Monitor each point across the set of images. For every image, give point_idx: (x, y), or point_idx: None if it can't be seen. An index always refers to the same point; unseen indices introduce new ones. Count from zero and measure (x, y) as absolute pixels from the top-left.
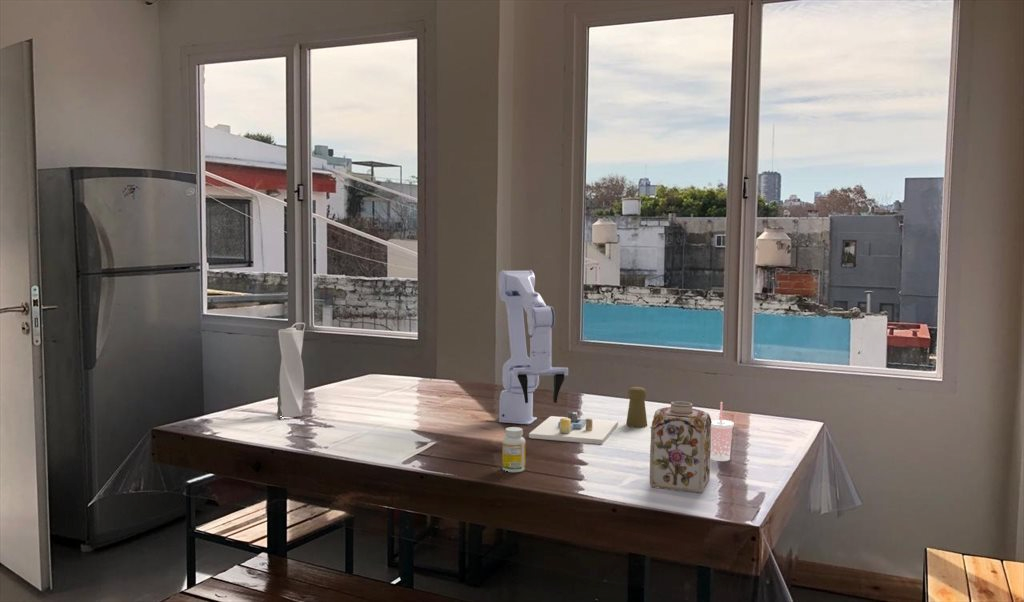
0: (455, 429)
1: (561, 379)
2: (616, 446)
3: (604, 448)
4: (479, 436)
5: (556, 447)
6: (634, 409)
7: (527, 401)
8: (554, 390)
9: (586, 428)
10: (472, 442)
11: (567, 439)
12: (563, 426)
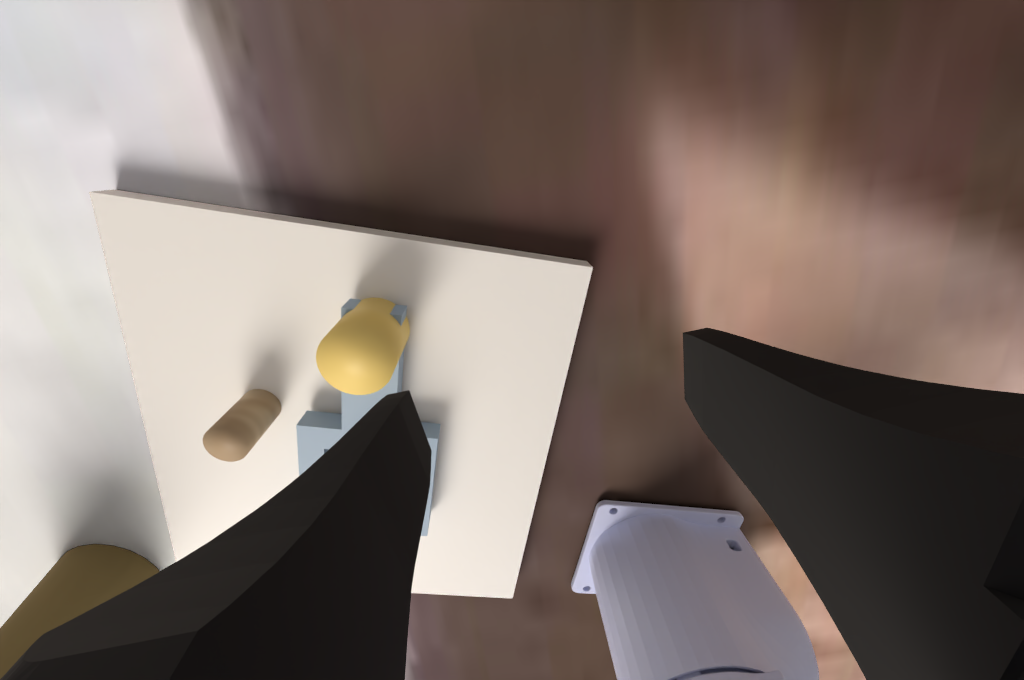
0: (964, 366)
1: (51, 647)
2: (4, 149)
3: (55, 75)
4: (865, 248)
5: (385, 45)
6: (25, 642)
7: (697, 332)
8: (388, 521)
9: (267, 400)
10: (935, 90)
11: (348, 227)
12: (373, 313)
